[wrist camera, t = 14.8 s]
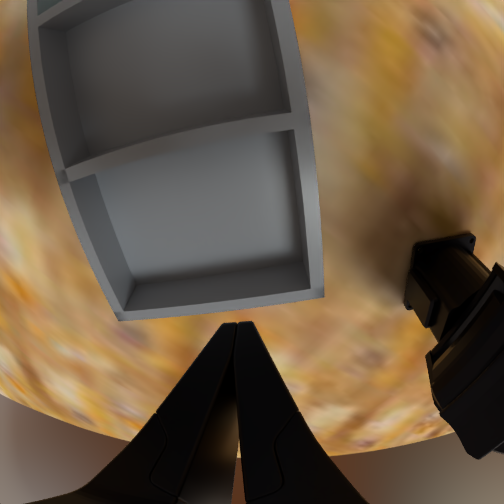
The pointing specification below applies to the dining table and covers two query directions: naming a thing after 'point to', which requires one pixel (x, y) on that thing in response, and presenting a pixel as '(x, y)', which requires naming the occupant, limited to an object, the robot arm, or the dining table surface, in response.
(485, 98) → the dining table surface
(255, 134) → the grey compartment tray
